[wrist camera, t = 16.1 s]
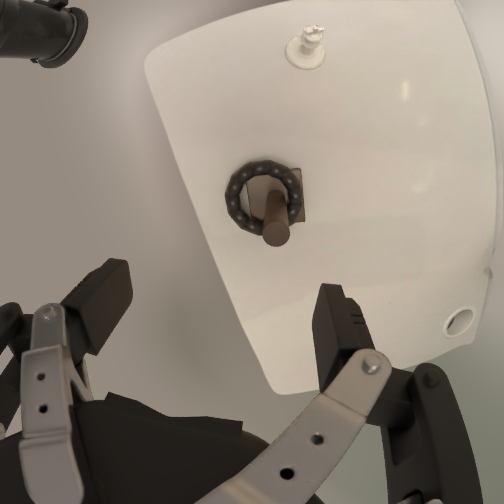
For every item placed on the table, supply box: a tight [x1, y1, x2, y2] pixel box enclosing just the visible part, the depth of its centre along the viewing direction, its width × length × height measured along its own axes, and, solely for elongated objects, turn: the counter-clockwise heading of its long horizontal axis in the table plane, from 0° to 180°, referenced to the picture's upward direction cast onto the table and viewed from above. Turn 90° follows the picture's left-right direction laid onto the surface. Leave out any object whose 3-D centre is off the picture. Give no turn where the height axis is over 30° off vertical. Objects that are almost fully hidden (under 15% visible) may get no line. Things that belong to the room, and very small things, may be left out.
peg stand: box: [246, 168, 305, 247], centre depth 30 cm, size 7×7×13 cm
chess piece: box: [285, 25, 325, 70], centre depth 22 cm, size 5×5×10 cm
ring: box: [225, 160, 303, 236], centre depth 34 cm, size 10×10×2 cm
